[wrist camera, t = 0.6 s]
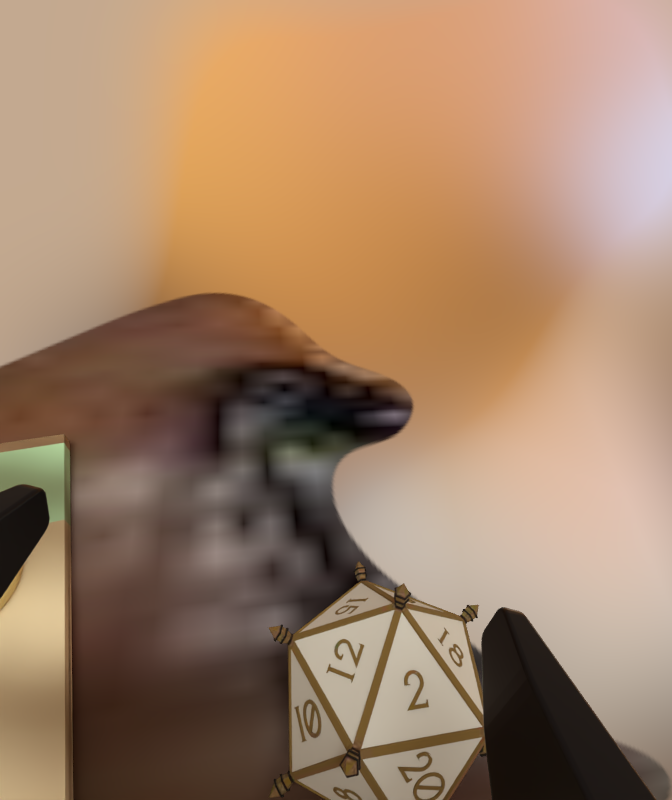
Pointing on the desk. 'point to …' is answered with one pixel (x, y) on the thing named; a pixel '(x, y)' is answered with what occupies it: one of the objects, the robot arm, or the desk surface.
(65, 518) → the board
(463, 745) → the game die
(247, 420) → the desk surface
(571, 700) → the robot arm
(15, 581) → the peg
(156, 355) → the desk surface
